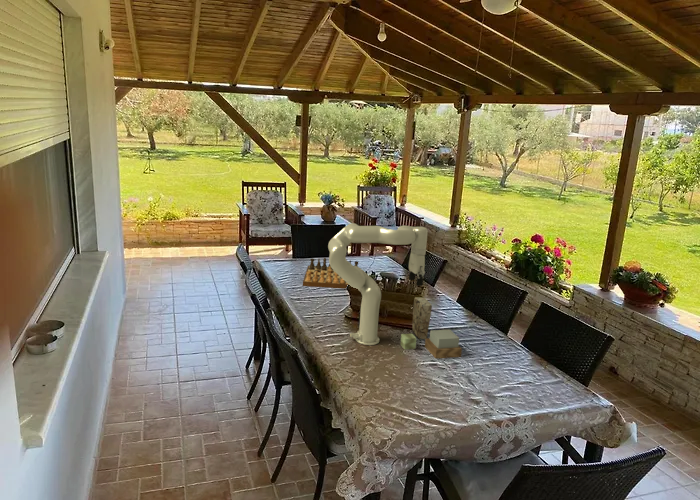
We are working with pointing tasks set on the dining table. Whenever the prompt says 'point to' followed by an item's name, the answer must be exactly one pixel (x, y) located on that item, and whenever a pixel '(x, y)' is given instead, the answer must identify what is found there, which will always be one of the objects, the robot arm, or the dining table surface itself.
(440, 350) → the walnut slab
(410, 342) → the sage cube
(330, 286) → the chess set
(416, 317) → the stone block
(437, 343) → the sage green flat block
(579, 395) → the dining table surface
